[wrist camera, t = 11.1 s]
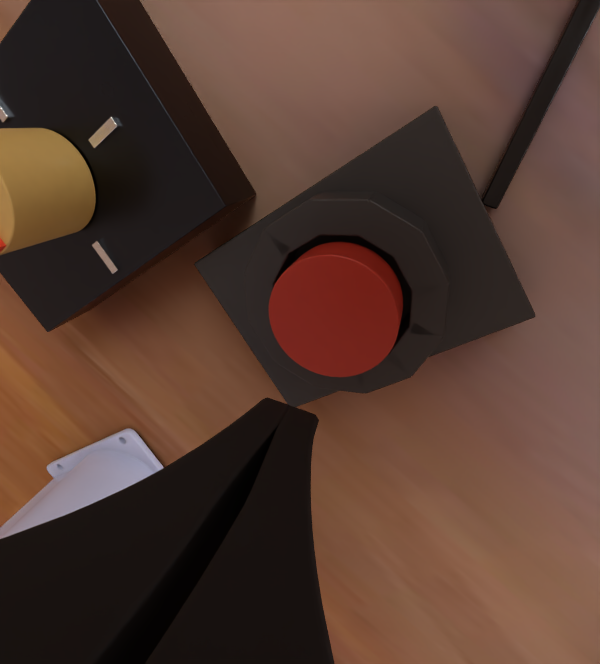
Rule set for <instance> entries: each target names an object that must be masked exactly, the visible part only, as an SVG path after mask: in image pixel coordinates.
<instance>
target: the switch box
mask: <svg viewBox="0 0 600 664" xmlns="http://www.w3.org/2000/svg"><path fill="white" fill-rule="evenodd" d="M329 242H350V243H355V244H359V245H361V246H364V247H366V248H368V249H370V250H372V251H374V252H375V253H377V254H378V255H380V256H381V257H382V258H383V259H384V260H385V261H386V262H387V263H388V264H389V265H390V267H391V268H392V269H393V271H394V272H395V274H396V276H397V278H398V280H399V282H400V285H401V289H402V294H403V311H402V317H401V322H400V326H399V331H398V335H397V339H396V341H395V344H394V346H393V348H392V349H391V351H390V353H389V354H388V355H387V356H386V358H385V359H384V360H383V361H382V362H380V363H379V364H378V365H377V366H375V367H374V368H372V369H370V370H368V371H366V372H364V373H361V374H358V375H355V376H349V377H330V376H324V375H321V374H317V373H315V372H312V371H310V370H308V369H306V368H304V367H302V366H301V365H299V364H298V363H296V362H295V361H294V360H293V359H291V358H290V357H289V356H288V355H287V354H286V353H285V351H284V350H283V349H282V348H281V346H280V345H279V343H278V342H277V340H276V338H275V336H274V333H273V331H272V328H271V324H270V319H269V300H270V296H271V292H272V290H273V287H274V285H275V283H276V282H277V280H278V278H279V277H280V276H281V275H282V273H283V272H284V271H285V270H286V269H287V268H288V267H290V266H291V265H292V264H293V263H294V262H295V261H296V260H297V259H298V258H299V257H300V256H301V255H302V254H304V253H305V252H307V251H308V250H309V249H311V248H313V247H315V246H318V245H321V244H324V243H329ZM194 265H195V266H196V268H197V269H198V271H199V272H200V274H201V275H202V277H203V278H204V280H205V281H206V283H207V284H208V286H209V287H210V289H211V290H212V292H213V293H214V295H215V296H216V298H217V299H218V301H219V302H220V304H221V305H222V307H223V308H224V310H225V311H226V313H227V314H228V316H229V317H230V319H231V320H232V322H233V323H234V325H235V326H236V328H237V329H238V330H239V332H240V333H241V335H242V336H243V338H244V339H245V341H246V342H247V344H248V345H249V347H250V348H251V350H252V351H253V353H254V354H255V356H256V357H257V359H258V360H259V362H260V363H261V365H262V366H263V368H264V369H265V371H266V372H267V374H268V375H269V377H270V378H271V380H272V381H273V383H274V384H275V386H276V387H277V389H278V390H279V392H280V393H281V395H282V396H283V398H284V399H285V401H286V402H287V404H288V405H290V406H293V407H297V406H300V405H302V404H305V403H308V402H310V401H313V400H316V399H318V398H321V397H324V396H326V395H329V394H332V393H334V392H337V391H348V392H356V393H368V392H371V391H374V390H377V389H380V388H382V387H385V386H388V385H391V384H393V383H396V382H399V381H402V380H404V379H407V378H410V377H411V376H413V374H414V373H415V372H416V371H417V370H418V368H419V367H420V366H421V365H422V364H423V362H424V361H425V360H426V359H427V358H428V357H430V356H433V355H435V354H438V353H441V352H443V351H446V350H449V349H451V348H454V347H457V346H459V345H462V344H465V343H467V342H470V341H473V340H475V339H478V338H481V337H483V336H486V335H489V334H491V333H494V332H497V331H499V330H502V329H505V328H507V327H510V326H513V325H515V324H518V323H521V322H523V321H526V320H529V319H531V318H534V317H535V313H534V311H533V309H532V306H531V304H530V302H529V300H528V298H527V296H526V294H525V292H524V289H523V287H522V285H521V283H520V281H519V279H518V277H517V275H516V272H515V270H514V268H513V266H512V264H511V262H510V260H509V258H508V255H507V253H506V251H505V249H504V247H503V245H502V243H501V241H500V238H499V236H498V234H497V232H496V230H495V228H494V226H493V224H492V221H491V219H490V217H489V215H488V213H487V211H486V209H485V207H484V204H483V202H482V200H481V198H480V196H479V194H478V192H477V190H476V187H475V185H474V183H473V181H472V179H471V177H470V175H469V173H468V170H467V168H466V166H465V164H464V162H463V160H462V158H461V156H460V153H459V151H458V149H457V147H456V145H455V143H454V141H453V139H452V136H451V134H450V132H449V130H448V128H447V126H446V124H445V122H444V119H443V117H442V115H441V113H440V111H439V109H438V107H437V106H434V107H433V108H431V109H430V110H428V111H427V112H425V113H424V114H422V115H420V116H419V117H417V118H416V119H414V120H413V121H411V122H410V123H408V124H407V125H405V126H404V127H402V128H401V129H399V130H397V131H396V132H394V133H393V134H391V135H390V136H388V137H387V138H385V139H384V140H382V141H381V142H379V143H378V144H376V145H375V146H373V147H371V148H370V149H368V150H367V151H365V152H364V153H362V154H361V155H359V156H358V157H356V158H355V159H353V160H352V161H350V162H348V163H347V164H345V165H344V166H342V167H341V168H339V169H338V170H336V171H335V172H333V173H332V174H330V175H329V176H327V177H326V178H324V179H322V180H321V181H319V182H318V183H316V184H315V185H313V186H312V187H310V188H309V189H307V190H306V191H304V192H303V193H301V194H299V195H298V196H296V197H295V198H293V199H292V200H290V201H289V202H287V203H286V204H284V205H283V206H281V207H280V208H278V209H277V210H275V211H273V212H272V213H270V214H269V215H267V216H266V217H264V218H263V219H261V220H260V221H258V222H257V223H255V224H254V225H252V226H250V227H249V228H247V229H246V230H244V231H243V232H241V233H240V234H238V235H237V236H235V237H234V238H232V239H231V240H229V241H228V242H226V243H224V244H223V245H221V246H220V247H218V248H217V249H215V250H214V251H212V252H211V253H209V254H208V255H206V256H205V257H203V258H201V259H200V260H198V261H197V262H195V264H194Z"/></svg>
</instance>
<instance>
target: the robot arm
mask: <svg viewBox="0 0 600 664" xmlns="http://www.w3.org/2000/svg"><path fill="white" fill-rule="evenodd" d="M318 421H319V420H318V418H317V416H316V415H315V414H312V413H309V412H307V411H304V410H301V409H298V408H295V407H293V406H290V405H287V404H284V403H282V402H279V401H276V400H273V399H270V398H268V397H267V398H265V399H262V400H261V401H260V402H259V403H258V404H256V405H255V406H254V407H253V408H252V409H250V410H249V411H248V412H247V413H245V414H244V415H243V416H241V417H240V418H239V419H237V420H236V421H235V422H233V423H232V424H231V425H229V426H228V427H227V428H225V429H224V430H222V431H221V432H219V433H218V434H217V435H215V436H214V437H212V438H211V439H209V440H208V441H207V442H205V443H204V444H202V445H201V446H199V447H197V448H196V449H194V450H193V451H191V452H189V453H188V454H186V455H184V456H183V457H181V458H179V459H178V460H176V461H175V462H173V463H171V464H170V465H168V466H166V467H163V466H162V464H161V463H160V462H159V461H158V459H157V458H156V457H155V456H154V454H153V453H152V452H151V450H150V449H149V448H148V447H147V445H146V444H145V443H144V442H143V440H142V439H141V438H140V436H139V435H138V434H137V433H136V432H135V431H134V430H133V429H130V428H127V429H124V430H122V431H120V432H118V433H115V434H113V435H111V436H109V437H106V438H104V439H102V440H100V441H97V442H95V443H93V444H91V445H89V446H86V447H84V448H82V449H80V450H77V451H75V452H73V453H71V454H68V455H66V456H64V457H62V458H59V459H57V460H55V461H53V462H51V463H50V464H49V465H48V466H47V470H48V472H49V473H50V474H51V475H52V477H53V478H54V479H53V480H52V481H51V482H49V483H48V484H47V485H46V486H45V487H44V488H43V489H42V490H41V491H40V492H39V493H37V494H36V495H35V496H34V497H33V498H32V499H31V500H30V501H29V502H28V503H27V504H25V505H24V506H23V507H22V508H21V509H20V510H19V511H18V512H17V513H16V514H15V515H13V516H12V517H11V518H10V519H9V520H8V521H7V522H6V523H5V524H4V525H3V526H1V527H0V664H334V660H333V655H332V650H331V645H330V640H329V635H328V630H327V625H326V621H325V616H324V611H323V606H322V600H321V594H320V587H319V581H318V575H317V567H316V559H315V551H314V542H313V530H312V515H311V456H312V446H313V439H314V435H315V431H316V428H317V425H318Z"/></svg>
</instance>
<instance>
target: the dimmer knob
mask: <svg viewBox="0 0 600 664" xmlns="http://www.w3.org/2000/svg"><path fill="white" fill-rule="evenodd" d="M95 203H96V194H95V186H94V181H93V178H92V175H91V172H90V170H89V167H88V166H87V164H86V162H85V160H84V158H83V157H82V155H81V154H80V153H79V151H78V150H77V149H76V148H75V147H74V146H73V145H72V144H71V143H70V142H69V141H68V140H67V139H66V138H64V137H63V136H61V135H60V134H58V133H56V132H54V131H51V130H48V129H44V128H0V255H2V254H6V253H9V252H12V251H16V250H19V249H22V248H26V247H29V246H32V245H36V244H39V243H42V242H46V241H49V240H52V239H56V238H59V237H62V236H66V235H69V234H72V233H75V232H78V231H80V230H81V229H83V228H84V227H85V226H86V225H87V224H88V223H89V221H90V220H91V218H92V215H93V213H94V209H95Z"/></svg>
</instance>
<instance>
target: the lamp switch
mask: <svg viewBox="0 0 600 664" xmlns="http://www.w3.org/2000/svg"><path fill="white" fill-rule="evenodd" d="M402 311H403V294H402V289H401V285H400V282H399V280H398V278H397V276H396V274H395V272H394V271H393V269H392V268H391V267H390V265H389V264H388V263H387V262H386V261H385V260H384V259H383V258H382V257H381V256H380V255H378V254H377V253H375V252H374V251H372V250H370V249H368V248H366V247H364V246H361V245H359V244H355V243H350V242H329V243H324V244H321V245H318V246H315V247H313V248H311V249H309V250H308V251H307V252H305V253H304V254H302V255H301V256H300V257H299V258H298V259H297V260H296V261H295V262H294V263H293V264H292V265H291V266H290V267H288V268H287V269H286V270H285V271H284V272H283V273H282V275H281V276H280V277H279V278H278V280H277V282H276V283H275V285H274V287H273V290H272V292H271V296H270V300H269V319H270V324H271V328H272V331H273V333H274V336H275V338H276V340H277V342H278V343H279V345H280V346H281V348H282V349H283V350H284V351H285V353H286V354H287V355H288V356H289V357H290V358H291V359H293V360H294V361H295V362H296V363H298V364H299V365H301V366H302V367H304V368H306V369H308V370H310V371H312V372H315V373H317V374H321V375H324V376H330V377H349V376H355V375H358V374H361V373H364V372H366V371H368V370H370V369H372V368H374V367H375V366H377V365H378V364H379V363H380V362H382V361H383V360H384V359H385V358H386V356H387V355H388V354H389V353H390V351H391V349H392V348H393V346H394V344H395V341H396V339H397V335H398V331H399V326H400V322H401V317H402Z"/></svg>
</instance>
